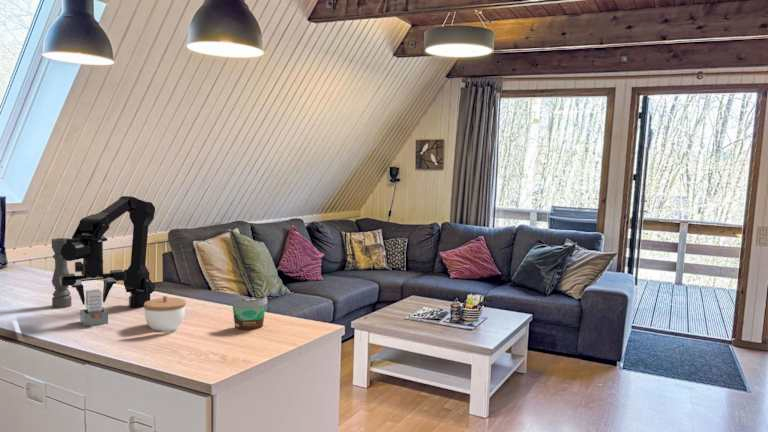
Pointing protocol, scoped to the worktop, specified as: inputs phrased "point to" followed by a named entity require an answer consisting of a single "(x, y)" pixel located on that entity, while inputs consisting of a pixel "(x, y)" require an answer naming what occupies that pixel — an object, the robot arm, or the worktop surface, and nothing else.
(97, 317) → the stand base
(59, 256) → the candle holder
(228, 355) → the worktop surface
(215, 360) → the worktop surface
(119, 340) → the worktop surface
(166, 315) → the lidded bowl
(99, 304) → the grey tall block
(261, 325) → the food container
